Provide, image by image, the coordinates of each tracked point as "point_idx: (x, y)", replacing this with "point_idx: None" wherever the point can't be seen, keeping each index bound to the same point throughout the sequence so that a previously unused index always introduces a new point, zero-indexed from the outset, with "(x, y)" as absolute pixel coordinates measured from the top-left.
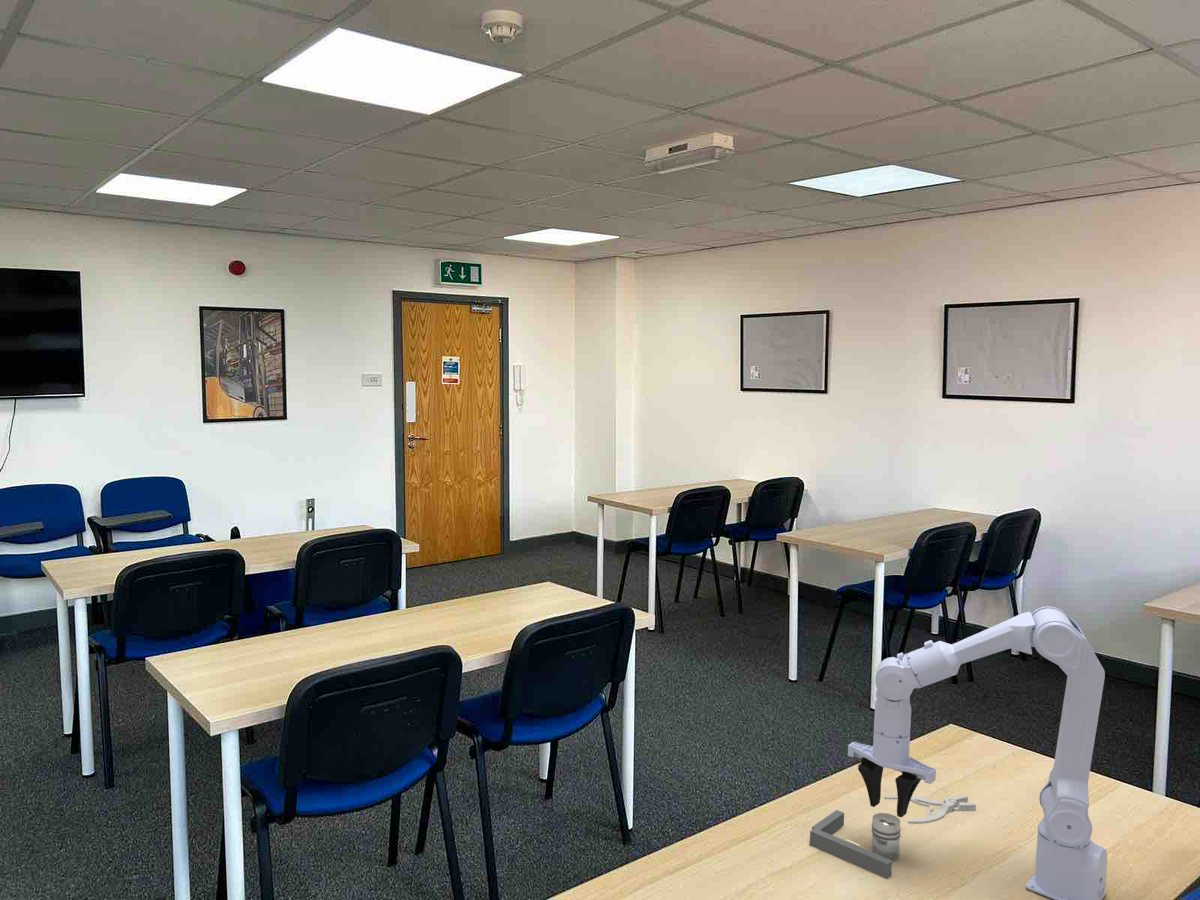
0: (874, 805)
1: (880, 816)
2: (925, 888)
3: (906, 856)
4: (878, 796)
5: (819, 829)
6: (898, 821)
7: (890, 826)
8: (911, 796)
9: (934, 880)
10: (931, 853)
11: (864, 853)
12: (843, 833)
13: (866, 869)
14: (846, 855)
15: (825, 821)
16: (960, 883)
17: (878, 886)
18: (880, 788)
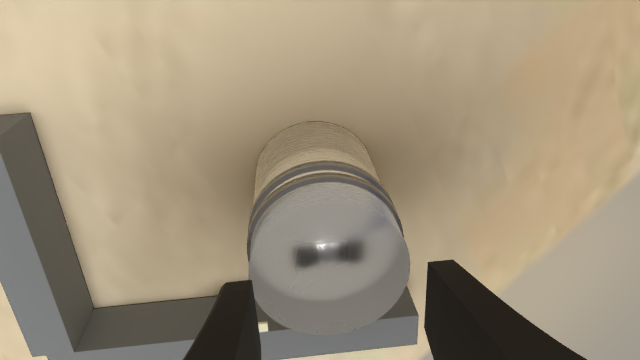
0: (259, 347)
1: (285, 268)
2: (526, 256)
3: (388, 122)
4: (251, 337)
5: (68, 349)
6: (394, 243)
7: (383, 311)
8: (543, 334)
9: (539, 191)
10: (465, 4)
11: (314, 350)
12: (86, 172)
13: None
14: None
15: (23, 282)
16: (628, 134)
17: (400, 352)
18: (239, 346)
